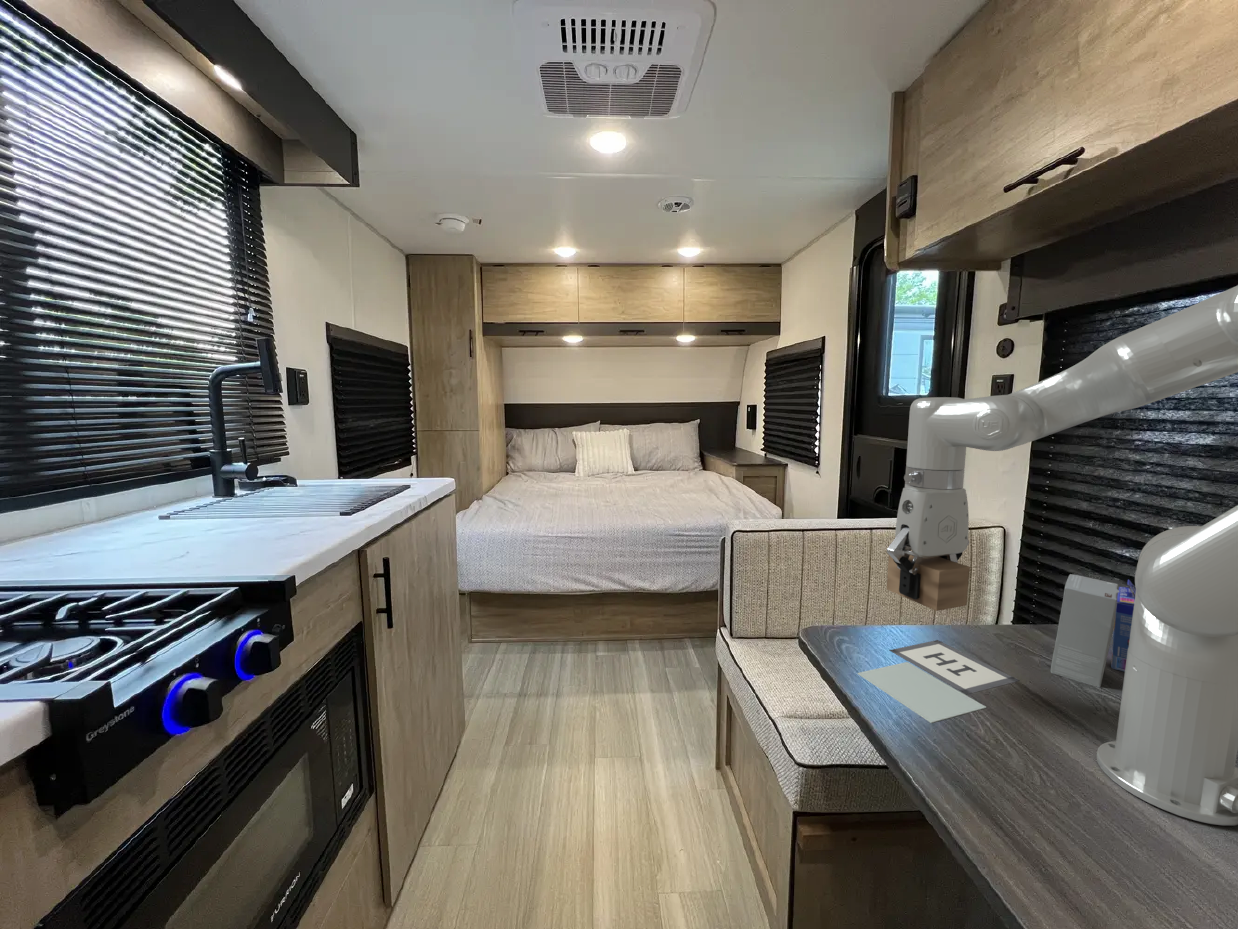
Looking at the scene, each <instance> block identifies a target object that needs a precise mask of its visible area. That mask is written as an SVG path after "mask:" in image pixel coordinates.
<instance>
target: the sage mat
mask: <svg viewBox="0 0 1238 929" xmlns="http://www.w3.org/2000/svg"><path fill="white" fill-rule="evenodd" d="M857 675H859V676H860V677H861V678H863V679H865V680H866V681H868V682H869V683H870V684H872V686H875V687H876V688H878V689H879V690H881V691H882V692H884V693H885V694H887V695H888V696H890V697H892V699H894V700H896V701H897V702H899V703H900V704H902V705H903V706H905V707H907V708H908V709H909V710H911V711H912V712H913V713H915V714H916V715H918V716H919V717H922V718H923V719H925V721H927V722H929V723H930V724H933V723H937V722H941V721H943V720H947V719H951V718H955V717H959V716H962V715H965V714H971V713H973V712H976V711H981V710H984V709H987V706H986V705H983V704H982V703H980V702H978V701H976V700H975V699H973V698H971V697H970V696H968V695H966V694H965V693H963V692H961V691H959V690H958V689H956V688H954V687H952V686H951V685H949V684H947V683H945V682H944V681H942V680H940V679H938V678H936V677H935V676H933V675H931V674H929V673H928V672H926V671H924V670H922V669H921V668H919V667H917V666H915V665H914V664H912V663H910V662H908V661H906V662H905V661H904V662H902V663H896V664H892V665H887V666H882V667H879V668H878V667H877V668H873V669H870V670H865V671H861V672H857Z"/></svg>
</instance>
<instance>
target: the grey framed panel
mask: <svg viewBox="0 0 1238 929" xmlns="http://www.w3.org/2000/svg"><path fill="white" fill-rule="evenodd" d="M889 651H890V652H891V653H893V654H895V655H896V656H898V657H900V658H902V659H904V660H905V661H906V662H909V663H910V664H912V665H914V666H916V667H917V668H919V669H921V670H923V671H924V672H926V673H928V674H930V675H931V676H933V677H935V678H937V679H938V680H940V681H942V682H944V683H945V684H947V685H949V686H951V687H952V688H954V689H956V690H958V691H959V692H961V693H963V694H965V695H966V696H968V695H971V694H973V693H978V692H982V691H985V690H989V689H993V688H997V687H1002V686H1004V685H1009V684H1013V683H1016V682H1020V679H1018V678H1016V677H1013V676H1011V675H1010V674H1007V673H1006V672H1004V671H1001V670H1000V669H999V668H998V669H997V668H996V667H993V666H992V665H989V664H988V663H985V662H983V661H981V660H979V659H978V658H975V657H973V656H971V655H969V654H967V653H964V652H963V651H961V650H959V649H956V648H955V647H954V646H951V645H948V644H947V643H946V642H943V641H940V640H938V639H936V640H932V641H926V642H921V643H917V644H913V645H912V644H911V645H908V646H907V645H906V646H903V647H898V648H892V649H889V650H888V652H889Z"/></svg>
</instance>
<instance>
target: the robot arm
mask: <svg viewBox="0 0 1238 929" xmlns="http://www.w3.org/2000/svg"><path fill="white" fill-rule="evenodd" d="M1237 373H1238V285H1236V286H1233V287H1230V288H1229V289H1226V290H1224V291H1221V292H1219V293H1217V294H1215V295H1213V296H1211V297H1209V298H1206V299H1203V300H1201V301H1199V302H1197V303H1195V304H1193V305H1190V306H1188V307H1186V308H1183V309H1181V310H1179V311H1177V312H1174V313H1173V314H1170V315H1167V316H1166V317H1163V318H1161V319H1159V320H1157V321H1154V322H1151V323H1148V324H1146V325H1144V326H1142V327H1139V328H1137V329H1135V330H1132V331H1129V332H1127V333H1125V334H1122V335H1120V336H1118V337H1116V338H1114V339H1111V340H1110V341H1109V342H1107V343H1105V344H1103V345H1102V346H1100V347H1099V348H1098V349H1096V350H1095V351H1094V352H1092V353H1091V354H1090V355H1089V356H1087V357H1086V358H1084V359H1083V360H1081V361H1079V362H1078V363H1076V364H1075V365H1073V366H1071V367H1069V368H1067V369H1064V370H1062V371H1061V372H1059V373H1055V374H1054V375H1052V376H1050V377H1047V378H1044V379H1042V380H1041V381H1038V382H1036V383H1034V384H1031V385H1029V386H1027V387H1026V386H1025V387H1024V388H1021V389H1019V390H1017V391H1014V392H1011V393H1009V394H1002V395H1001V394H999V395H989V396H980V397H975V398H961V397H952V396H951V397H948V396H947V397H946V396H943V397H940V396H938V397H937V396H936V397H934V396H933V397H920V398H919V397H918V398H917V399H914V400H913V401H912V403H911V405H910V407H909V417H908V418H909V419H908V431H907V432H908V436H907V449H906V463H905V464H906V466H905V474H904V476H903V479H904V487H903V488H902V491H901V496H900V499H899V503H898V509H897V514H896V516H897V517H896V523H895V532H894V533H895V534H894V535H895V536H894V537H895V538H894V539H893V540H892V542H890V544H889V545H888V547H887V549H886V553H887V554H888V556H889V555H890V556H891V557H892V558H893V561H894V562H895V563H896V564H897V568H898V569H900V583H899V592H900V593H901V594H903V595H905V596H908V597H910V598H912V599H919V593H920V579H921V574H918V573H917V572H918V570H919V567H920V565H921V562H922V559H923V558H929V557H937V556H938V557H941V558H944V559H947V560H950V561H953V562H957V563H959V562H958V561H959V559H960V558H961V557H962V556H963V552H964V551H965V550H967V548H968V546H969V544H970V540H969V528H970V527H969V525H970V524H969V523H970V522H969V519H970V518H969V517H970V516H969V502H968V496H967V495H968V494H967V490H966V488H964V482H965V479H964V478H965V468H966V467H965V466H966V455H967V448H970V449H975V450H981V451H982V450H983V451H987V452H1002V451H1007V450H1010V449H1013V448H1015V447H1018V446H1022V445H1025V444H1028V443H1031V442H1033V441H1036V440H1040V439H1042V438H1045V437H1048V436H1049V435H1053V434H1056V433H1058V432H1059V433H1060V432H1061V431H1064V430H1067V429H1069V428H1072V427H1076V426H1078V425H1081V424H1084V423H1087V422H1090V421H1092V420H1095V419H1098V418H1099V419H1100V418H1101V417H1104V416H1108V415H1111V414H1115V413H1118V412H1123V411H1127V410H1129V411H1130V410H1132V409H1136V408H1139V407H1143V406H1145V405H1149V404H1151V403H1155V402H1157V401H1160V400H1164V399H1166V398H1169V397H1172V396H1174V395H1177V394H1180V393H1183V392H1186V391H1189V390H1191V389H1192V390H1193V389H1195V388H1196V387H1200V386H1203V385H1206V384H1209V383H1211V382H1215V381H1217V380H1220V379H1223V378H1226V377H1228V376H1231V375H1234V374H1237ZM910 555H911V556H914V558H913V560H912V563H911V562H910V561H909V560H908V559H909V556H910ZM1134 574H1135V576H1134V585H1135V586H1134V587H1135V589H1136V594H1135V602H1134V610H1133V617H1132V625H1131V632H1130V640H1129V647H1128V652H1127V660H1126V668H1125V672H1124V678H1123V684H1122V692H1121V701H1120V707H1119V708H1120V709H1119V715H1118V724H1117V731H1116V737H1115V738H1116V739H1115V740H1112V741H1107V742H1104V743H1102V744H1100V746H1098V747H1097V751H1096V762H1097V763H1098V766H1099V768H1101V770H1102V771H1103V773H1104V774H1105V775H1106V776H1108V777H1109V778H1110V780H1112V781H1113V782H1114V783H1115V784H1117V785H1118V786H1120V787H1121V788H1123V790H1125V791H1127V792H1129V793H1130V794H1132V795H1133V796H1135V797H1137V798H1138V799H1140V800H1142V801H1144V802H1147V803H1148V804H1150V805H1152V806H1155V807H1157V808H1159V809H1161V810H1164V811H1166V812H1169V813H1171V814H1174V815H1176V816H1179V817H1181V818H1186V819H1189V820H1193V821H1196V822H1200V823H1204V824H1209V825H1218V826H1238V767H1236V763H1237V755H1238V504H1237V505H1235V506H1233V507H1232V508H1231V509H1229V510H1227V511H1225V512H1224V513H1222V514H1220V515H1219V516H1217V517H1215V518H1214V519H1211V520H1210V521H1209V522H1207V523H1205V524H1203V525H1201V526H1200V525H1188V526H1187V525H1184V526H1179V527H1178V526H1177V527H1173V528H1169V529H1167V530H1165V531H1162V532H1160V533H1158V534H1157V535H1155V536H1153V537H1152V538H1151V539H1150V540H1149V541H1148V542H1147V543H1145V545H1144V546H1143V547H1142V549H1141V552H1140V554H1139V557H1138V562H1137V564H1136V570H1135V573H1134Z"/></svg>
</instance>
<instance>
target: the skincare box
mask: <svg viewBox="0 0 1238 929" xmlns="http://www.w3.org/2000/svg"><path fill="white" fill-rule="evenodd" d="M1119 587H1120V586H1119V584H1118V583H1115V582H1111V581H1110V582H1109V581H1105V580H1101V579H1096V578H1093V577H1092V578H1091V577H1087V576H1083V575H1078V574H1073V573H1072V574H1071V573H1070V574H1069V575H1068V577H1067V580H1066V582H1065V585H1064V592H1063V597H1062V598H1063V599H1062V604H1061V609H1060V616H1059V620H1058V626H1057V632H1056V638H1055V642H1054V648H1053V653H1052V659H1051V664H1050V673H1051V674H1053V675H1056V676H1061V677H1062V678H1067V679H1068V680H1069V679H1070V680H1073V681H1076V682H1079V683H1084V684H1086V685H1091V686H1094V687H1097V688H1101V685H1102V682H1103V677H1104V672H1105V668H1106V665H1107V660H1108V657H1109V656H1108V655H1109V652H1110V647H1111V641H1112V639H1113V630H1114V622H1115V615H1116V606H1117V595H1118V593H1119V590H1118V589H1119Z"/></svg>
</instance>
